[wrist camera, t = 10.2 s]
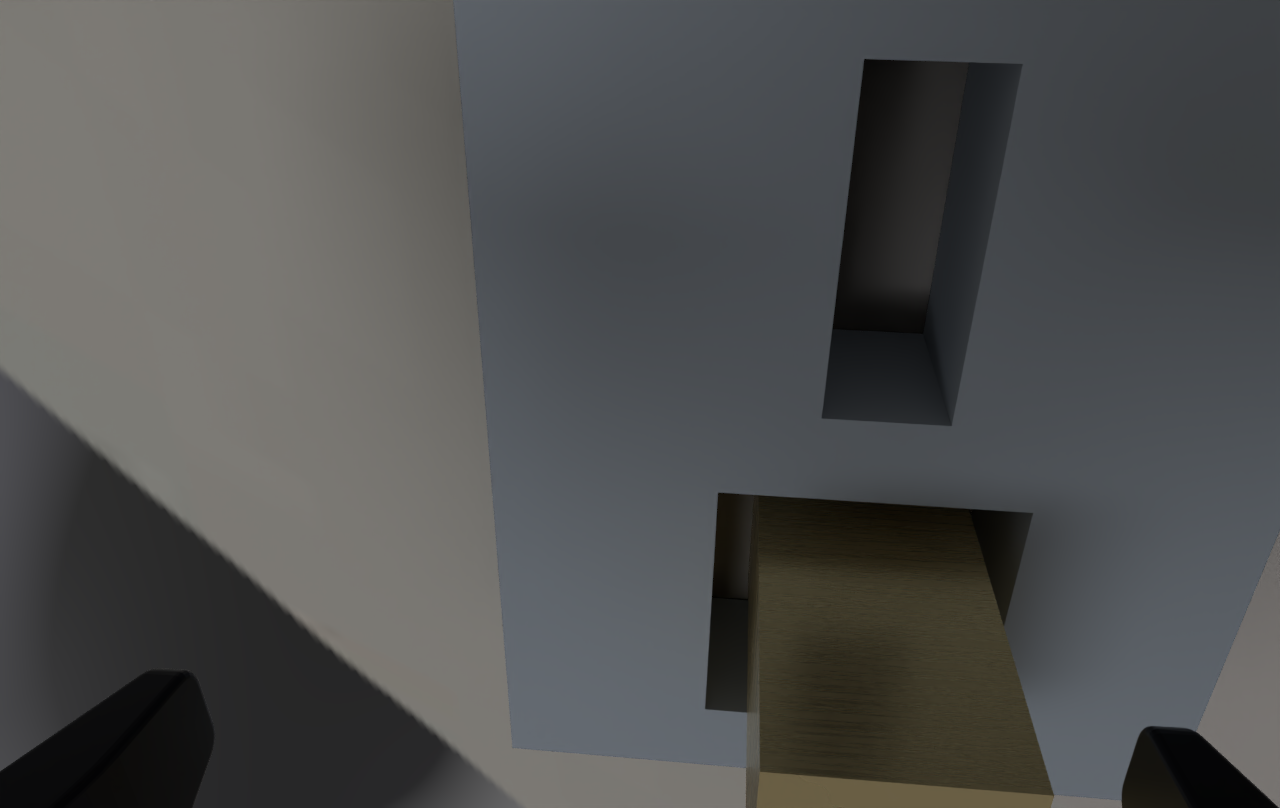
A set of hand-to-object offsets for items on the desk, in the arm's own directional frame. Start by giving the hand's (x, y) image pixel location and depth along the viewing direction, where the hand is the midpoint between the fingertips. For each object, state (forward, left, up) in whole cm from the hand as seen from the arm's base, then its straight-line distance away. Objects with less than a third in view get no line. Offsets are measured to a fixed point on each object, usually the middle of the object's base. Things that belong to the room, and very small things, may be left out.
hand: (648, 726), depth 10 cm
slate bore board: (-3, +3, -12) cm, 13 cm away
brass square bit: (-3, +6, -12) cm, 14 cm away
